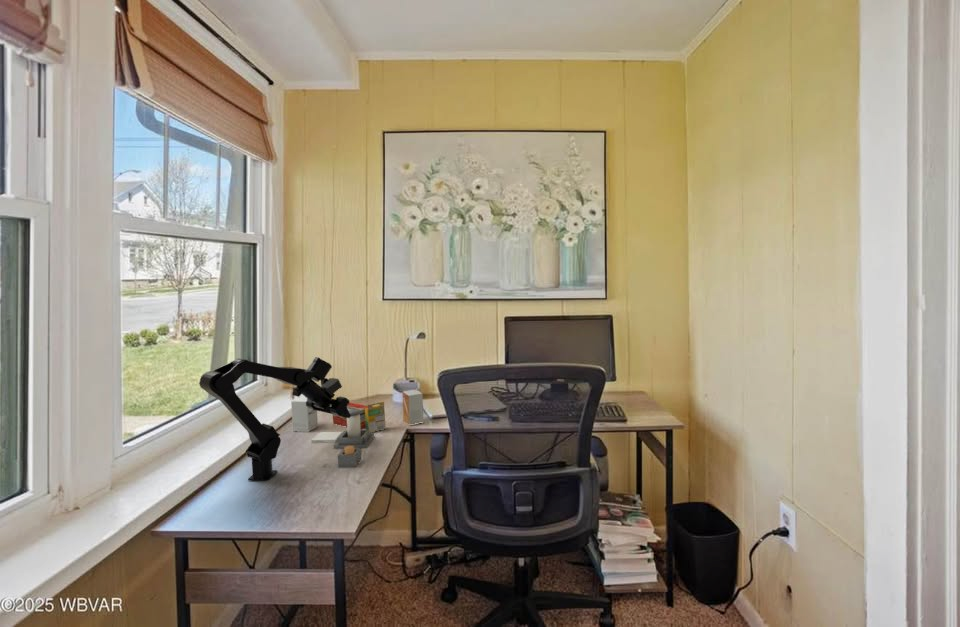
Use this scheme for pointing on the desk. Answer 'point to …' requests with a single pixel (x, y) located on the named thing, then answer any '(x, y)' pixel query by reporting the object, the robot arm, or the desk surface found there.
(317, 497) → the desk surface
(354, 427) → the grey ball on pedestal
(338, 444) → the frame
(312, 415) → the supplement box
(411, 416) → the small box
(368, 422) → the crayon box
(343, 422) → the medicine box
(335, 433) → the pad
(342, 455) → the block
